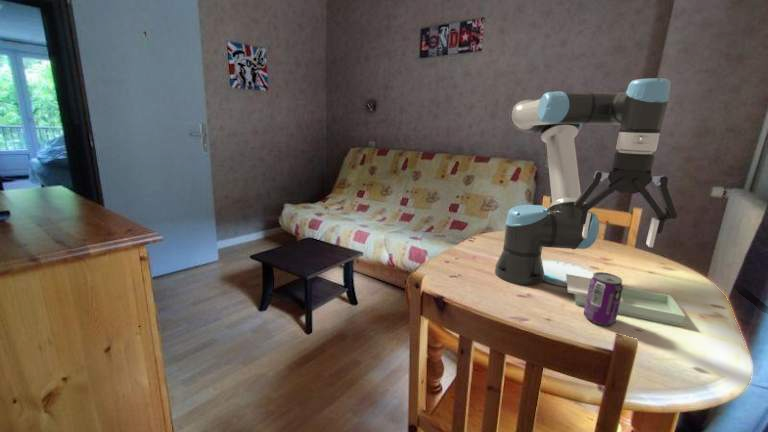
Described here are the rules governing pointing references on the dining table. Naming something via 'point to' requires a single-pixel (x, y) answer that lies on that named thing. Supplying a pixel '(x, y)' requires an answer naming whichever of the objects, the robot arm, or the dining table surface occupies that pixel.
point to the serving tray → (646, 306)
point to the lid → (579, 285)
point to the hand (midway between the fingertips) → (615, 241)
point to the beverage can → (603, 298)
